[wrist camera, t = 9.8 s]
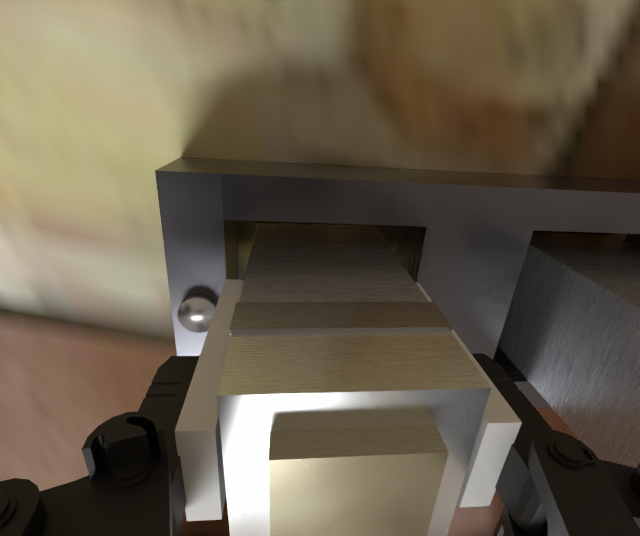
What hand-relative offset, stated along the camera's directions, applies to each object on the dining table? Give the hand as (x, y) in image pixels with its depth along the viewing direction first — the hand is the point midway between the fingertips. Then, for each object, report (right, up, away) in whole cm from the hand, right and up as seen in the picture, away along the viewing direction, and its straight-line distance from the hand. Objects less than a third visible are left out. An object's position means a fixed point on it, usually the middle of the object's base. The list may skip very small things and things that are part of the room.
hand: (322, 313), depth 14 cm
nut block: (0, +1, +3) cm, 3 cm away
